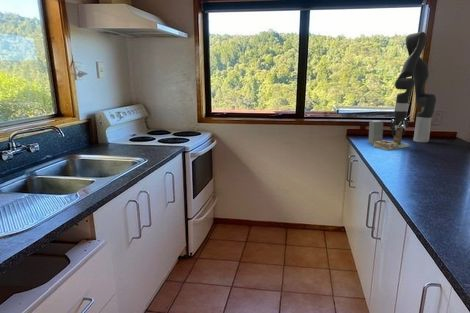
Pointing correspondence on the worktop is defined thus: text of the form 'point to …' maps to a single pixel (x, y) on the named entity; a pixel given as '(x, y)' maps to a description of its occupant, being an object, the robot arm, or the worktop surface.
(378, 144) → the pocket block
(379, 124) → the skincare box
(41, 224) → the worktop surface
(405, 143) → the tray
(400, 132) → the dowel
